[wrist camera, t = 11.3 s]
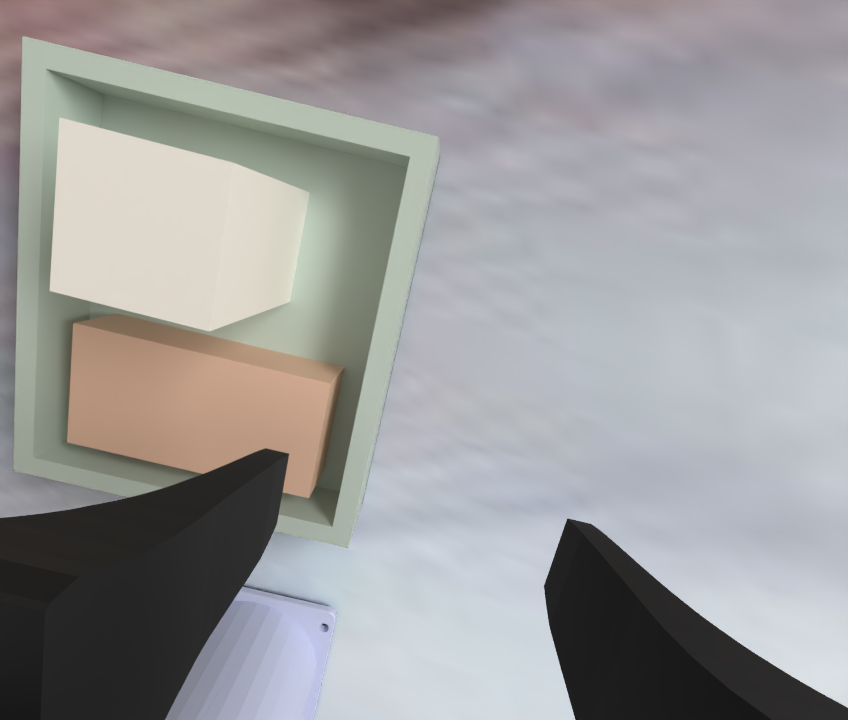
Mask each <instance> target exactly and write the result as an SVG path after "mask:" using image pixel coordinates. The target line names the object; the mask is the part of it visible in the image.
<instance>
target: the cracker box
mask: <svg viewBox="0 0 848 720" xmlns="http://www.w3.org/2000/svg"><path fill="white" fill-rule="evenodd" d="M343 372H344V367H341V366H337V365H333V364H328V363H324V362H320V361H316V360H311V359H307V358H303V357H299V356H295V355H290V354H286V353H282V352H278V351H273V350H269V349H265V348H261V347H256V346H252V345H248V344H244V343H239V342H235V341H231V340H227V339H222V338H218V337H214V336H210V335H205V334H201V333H197V332H193V331H188V330H184V329H180V328H176V327H172V326H167V325H163V324H159V323H155V322H150V321H146V320H142V319H138V318H133V317H129V316H125V315H121V314H114V315H109V316H105V317H100V318H95V319H90V320H85V321H81V322H76V323H73V337H72V356H71V376H70V395H69V415H68V434H67V442H68V443H72V444H77V445H81V446H85V447H90V448H94V449H98V450H102V451H107V452H111V453H115V454H120V455H124V456H128V457H133V458H137V459H141V460H146V461H150V462H154V463H158V464H163V465H167V466H171V467H176V468H180V469H184V470H189V471H193V472H197V473H202V474H204V473H207V472H209V471H212V470H214V469H216V468H219V467H221V466H224V465H226V464H228V463H231V462H233V461H235V460H238V459H240V458H242V457H245V456H247V455H249V454H252V453H254V452H256V451H259V450H262V449H265V448H267V449H271V450H276V451H280V452H284V453H289V458H288V464H287V470H286V475H285V481H284V487H283V493H288V494H292V495H296V496H301V497H305V498H309V497H310V495H311V493H312V492H313V490H314V488H315V486H316V484H317V482H318V480H319V479H320V477H321V475H322V473H323V471H324V468H325V463H326V458H327V453H328V448H329V443H330V438H331V433H332V428H333V423H334V417H335V412H336V407H337V402H338V397H339V392H340V387H341V382H342V377H343Z"/></svg>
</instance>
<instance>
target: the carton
mask: <svg viewBox="0 0 848 720" xmlns="http://www.w3.org/2000/svg"><path fill="white" fill-rule="evenodd" d="M309 193H310V192H307V191H305V190H302V189H299V188H297V187H294V186H292V185H289V184H287V183H284V182H282V181H279V180H276V179H274V178H271V177H269V176H266V175H264V174H261V173H258V172H256V171H253V170H251V169H248V168H246V167H243V166H241V165H238V164H235V163H233V162H229V161H225V160H221V159H217V158H214V157H210V156H206V155H202V154H198V153H194V152H191V151H187V150H183V149H179V148H175V147H171V146H168V145H164V144H160V143H156V142H152V141H148V140H145V139H141V138H137V137H133V136H129V135H125V134H121V133H118V132H114V131H110V130H106V129H102V128H98V127H95V126H91V125H87V124H83V123H79V122H75V121H72V120H68V119H64V118H60V117H59V134H58V152H57V169H56V187H55V204H54V222H53V239H52V257H51V274H50V291H52V292H56V293H60V294H64V295H68V296H71V297H75V298H79V299H83V300H87V301H91V302H95V303H99V304H103V305H107V306H111V307H115V308H119V309H123V310H126V311H130V312H134V313H138V314H142V315H146V316H150V317H154V318H158V319H162V320H166V321H170V322H174V323H178V324H181V325H185V326H189V327H193V328H197V329H201V330H205V331H212V330H215V329H217V328H220V327H223V326H226V325H228V324H231V323H234V322H237V321H239V320H242V319H245V318H248V317H250V316H253V315H256V314H259V313H261V312H264V311H267V310H270V309H272V308H275V307H278V306H280V305H283V304H286V303H289V302H290V298H291V292H292V287H293V281H294V276H295V270H296V265H297V259H298V254H299V248H300V243H301V237H302V232H303V226H304V221H305V215H306V210H307V204H308V199H309Z"/></svg>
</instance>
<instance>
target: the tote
mask: <svg viewBox="0 0 848 720" xmlns="http://www.w3.org/2000/svg"><path fill="white" fill-rule="evenodd" d="M59 117H60V118H64V119H68V120H72V121H75V122H79V123H83V124H87V125H91V126H95V127H98V128H102V129H106V130H110V131H114V132H118V133H121V134H125V135H129V136H133V137H137V138H141V139H145V140H148V141H152V142H156V143H160V144H164V145H168V146H171V147H175V148H179V149H183V150H187V151H191V152H194V153H198V154H202V155H206V156H210V157H214V158H217V159H221V160H225V161H229V162H233V163H235V164H238V165H241V166H243V167H246V168H248V169H251V170H253V171H256V172H258V173H261V174H264V175H266V176H269V177H271V178H274V179H276V180H279V181H282V182H284V183H287V184H289V185H292V186H294V187H297V188H299V189H302V190H305V191H307V192H310V193H309V199H308V204H307V210H306V215H305V221H304V226H303V232H302V237H301V243H300V248H299V254H298V259H297V265H296V270H295V276H294V281H293V287H292V292H291V298H290V302H289V303H286V304H283V305H280V306H278V307H275V308H272V309H270V310H267V311H264V312H261V313H259V314H256V315H253V316H250V317H248V318H245V319H242V320H239V321H237V322H234V323H231V324H228V325H226V326H223V327H220V328H217V329H215V330H212V331H205V330H201V329H197V328H193V327H189V326H185V325H181V324H178V323H174V322H170V321H166V320H162V319H158V318H154V317H150V316H146V315H142V314H138V313H134V312H130V311H126V310H123V309H119V308H115V307H111V306H107V305H103V304H99V303H95V302H91V301H87V300H83V299H79V298H75V297H71V296H68V295H64V294H60V293H56V292H52V291H50V274H51V257H52V239H53V222H54V204H55V187H56V169H57V152H58V134H59ZM439 159H440V147H439V137H437V136H433V135H429V134H424V133H420V132H416V131H412V130H408V129H404V128H400V127H396V126H391V125H387V124H383V123H379V122H375V121H371V120H367V119H363V118H358V117H354V116H350V115H346V114H342V113H338V112H334V111H330V110H325V109H321V108H317V107H313V106H309V105H305V104H301V103H297V102H292V101H288V100H284V99H280V98H276V97H272V96H268V95H264V94H259V93H255V92H251V91H247V90H243V89H239V88H235V87H231V86H226V85H222V84H218V83H214V82H210V81H206V80H202V79H198V78H193V77H189V76H185V75H181V74H177V73H173V72H169V71H165V70H160V69H156V68H152V67H148V66H144V65H140V64H136V63H132V62H128V61H123V60H119V59H115V58H111V57H107V56H103V55H99V54H95V53H90V52H86V51H82V50H78V49H74V48H70V47H66V46H62V45H57V44H53V43H49V42H45V41H41V40H37V39H33V38H29V37H24V36H23V40H22V86H21V132H20V178H19V224H18V270H17V316H16V362H15V408H14V454H13V471H16V472H21V473H25V474H29V475H34V476H38V477H42V478H47V479H51V480H55V481H60V482H64V483H68V484H73V485H77V486H81V487H86V488H90V489H94V490H99V491H103V492H107V493H112V494H116V495H120V496H125V497H129V498H130V497H133V496H137V495H141V494H145V493H149V492H152V491H155V490H159V489H162V488H165V487H168V486H171V485H174V484H177V483H179V482H182V481H185V480H188V479H190V478H193V477H196V476H199V475H201V474H202V473H197V472H193V471H189V470H184V469H180V468H176V467H171V466H167V465H163V464H158V463H154V462H150V461H146V460H141V459H137V458H133V457H128V456H124V455H120V454H115V453H111V452H107V451H102V450H98V449H94V448H90V447H85V446H81V445H77V444H72V443H68V442H67V434H68V415H69V395H70V376H71V356H72V337H73V323H76V322H81V321H85V320H90V319H95V318H100V317H105V316H109V315H114V314H121V315H125V316H129V317H133V318H138V319H142V320H146V321H150V322H155V323H159V324H163V325H167V326H172V327H176V328H180V329H184V330H188V331H193V332H197V333H201V334H205V335H210V336H214V337H218V338H222V339H227V340H231V341H235V342H239V343H244V344H248V345H252V346H256V347H261V348H265V349H269V350H273V351H278V352H282V353H286V354H290V355H295V356H299V357H303V358H307V359H311V360H316V361H320V362H324V363H328V364H333V365H337V366H341V367H344V372H343V377H342V382H341V387H340V392H339V397H338V402H337V407H336V412H335V417H334V423H333V428H332V433H331V438H330V443H329V448H328V453H327V458H326V463H325V468H324V471H323V473H322V475H321V477H320V479H319V480H318V482H317V484H316V486H315V488H314V490H313V492H312V493H311V495H310V497H309V498H305V497H301V496H296V495H292V494H288V493H283V492H282V498H281V504H280V509H279V515H278V521H277V525H276V527H275V529H274V531H276V532H280V533H285V534H289V535H293V536H298V537H302V538H306V539H311V540H315V541H319V542H324V543H328V544H332V545H337V546H341V547H345V548H348V546H349V543H350V540H351V537H352V534H353V531H354V528H355V525H356V522H357V518H358V515H359V512H360V509H361V506H362V503H363V498H364V494H365V489H366V485H367V480H368V476H369V471H370V467H371V462H372V458H373V454H374V449H375V445H376V440H377V436H378V431H379V427H380V422H381V418H382V413H383V409H384V404H385V400H386V396H387V391H388V387H389V382H390V378H391V373H392V369H393V364H394V360H395V355H396V351H397V346H398V342H399V337H400V333H401V329H402V324H403V320H404V315H405V311H406V306H407V302H408V297H409V293H410V288H411V284H412V279H413V275H414V270H415V266H416V262H417V257H418V253H419V248H420V244H421V239H422V235H423V230H424V226H425V221H426V217H427V212H428V208H429V203H430V199H431V195H432V190H433V186H434V181H435V177H436V172H437V168H438V163H439Z"/></svg>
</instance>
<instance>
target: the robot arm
mask: <svg viewBox="0 0 848 720" xmlns="http://www.w3.org/2000/svg"><path fill="white" fill-rule="evenodd" d="M288 458H289V453H284V452H280V451H276V450H271V449H267V448H265V449H262V450H259V451H256V452H254V453H252V454H249V455H247V456H245V457H242V458H240V459H238V460H235V461H233V462H231V463H228V464H226V465H224V466H221V467H219V468H216V469H214V470H212V471H209V472H207V473H204V474H201V475H199V476H196V477H193V478H190V479H188V480H185V481H182V482H179V483H177V484H174V485H171V486H168V487H165V488H162V489H159V490H155V491H152V492H149V493H145V494H141V495H137V496H133V497H130V498H126V499H122V500H117V501H112V502H107V503H102V504H97V505H92V506H87V507H82V508H77V509H71V510H65V511H58V512H51V513H44V514H36V515H27V516H18V517H8V518H0V720H314V716H315V712H316V707H317V703H318V698H319V694H320V689H321V685H322V680H323V676H324V671H325V667H326V662H327V658H328V653H329V649H330V644H331V640H332V636H333V631H334V627H335V622H336V618H337V613H336V611H335V610H334V609H333V608H331V607H329V606H325V605H320V604H316V603H311V602H307V601H303V600H298V599H294V598H290V597H285V596H281V595H277V594H272V593H268V592H264V591H259V590H255V589H250V588H246V587H243V585H244V584H245V582H246V580H247V579H248V577H249V576H250V574H251V573H252V571H253V570H254V568H255V566H256V565H257V563H258V562H259V560H260V558H261V556H262V554H263V552H264V550H265V548H266V546H267V544H268V542H269V540H270V538H271V536H272V534H273V532H274V529H275V527H276V525H277V521H278V515H279V509H280V504H281V498H282V492H283V487H284V481H285V475H286V470H287V464H288ZM544 589H545V598H546V606H547V613H548V619H549V626H550V629H551V633H552V637H553V641H554V645H555V648H556V652H557V656H558V659H559V663H560V666H561V670H562V673H563V677H564V680H565V684H566V688H567V691H568V695H569V698H570V702H571V705H572V709H573V712H574V716H575V719H576V720H848V708H847V707H845V706H843V705H841V704H840V703H838V702H836V701H834V700H832V699H830V698H828V697H827V696H825V695H823V694H821V693H819V692H818V691H816V690H814V689H812V688H811V687H809V686H807V685H805V684H804V683H802V682H800V681H799V680H797V679H795V678H793V677H792V676H790V675H789V674H787V673H785V672H784V671H782V670H780V669H779V668H777V667H776V666H774V665H772V664H771V663H769V662H768V661H766V660H764V659H763V658H761V657H760V656H758V655H756V654H755V653H753V652H752V651H750V650H749V649H747V648H746V647H744V646H743V645H741V644H740V643H738V642H737V641H735V640H734V639H733V638H731V637H730V636H728V635H727V634H726V633H724V632H723V631H721V630H720V629H719V628H717V627H716V626H714V625H713V624H711V623H710V622H709V621H707V620H706V619H705V618H703V617H702V616H701V615H699V614H698V613H697V612H695V611H694V610H693V609H692V608H690V607H689V606H688V605H687V604H685V603H684V602H683V601H682V600H680V599H679V598H678V597H677V596H675V595H674V594H673V593H672V592H670V591H669V590H668V589H667V588H666V587H665V586H663V585H662V584H661V583H660V582H659V581H657V580H656V579H655V578H654V577H653V576H652V575H650V574H649V573H648V572H647V571H646V570H645V569H644V568H642V567H641V566H640V565H639V564H638V563H637V562H636V561H635V560H633V559H632V558H631V557H630V556H629V555H628V554H627V553H626V552H624V551H623V550H622V549H621V548H620V547H619V546H618V545H617V544H615V543H614V542H613V541H612V540H611V539H610V538H608V537H607V536H606V535H605V534H604V533H602V532H601V531H600V530H599V529H597V528H596V527H595V526H593V525H592V524H589V523H584V522H580V521H576V520H571V519H567V521H566V524H565V527H564V530H563V533H562V536H561V539H560V542H559V544H558V547H557V550H556V553H555V556H554V559H553V562H552V565H551V568H550V571H549V573H548V576H547V579H546V582H545V585H544ZM322 623H324V624H327V625H328V626H324V625H322Z"/></svg>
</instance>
